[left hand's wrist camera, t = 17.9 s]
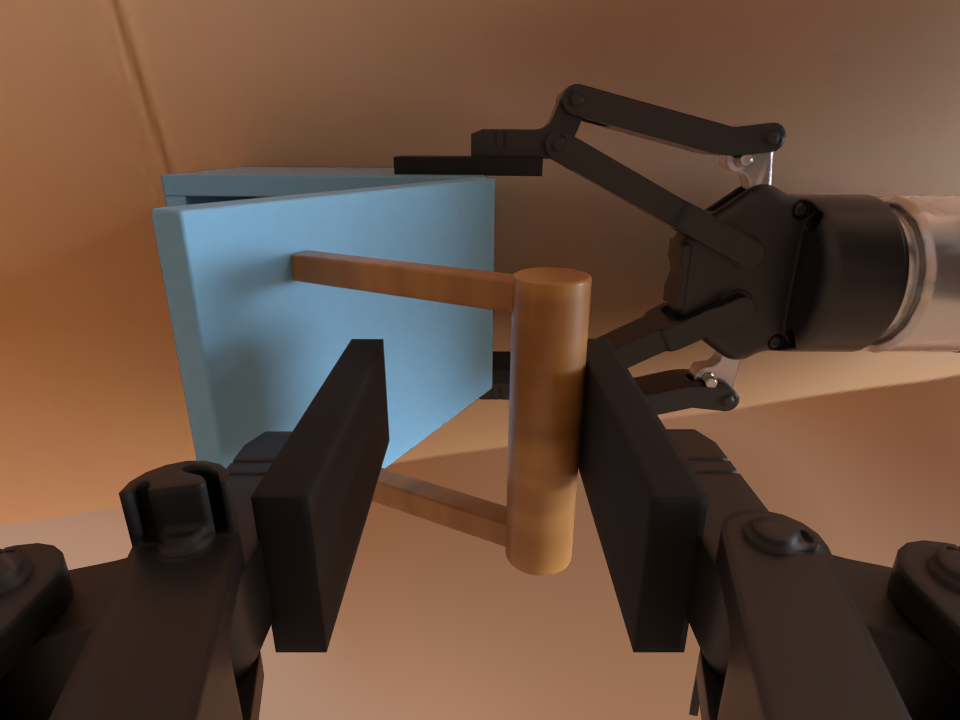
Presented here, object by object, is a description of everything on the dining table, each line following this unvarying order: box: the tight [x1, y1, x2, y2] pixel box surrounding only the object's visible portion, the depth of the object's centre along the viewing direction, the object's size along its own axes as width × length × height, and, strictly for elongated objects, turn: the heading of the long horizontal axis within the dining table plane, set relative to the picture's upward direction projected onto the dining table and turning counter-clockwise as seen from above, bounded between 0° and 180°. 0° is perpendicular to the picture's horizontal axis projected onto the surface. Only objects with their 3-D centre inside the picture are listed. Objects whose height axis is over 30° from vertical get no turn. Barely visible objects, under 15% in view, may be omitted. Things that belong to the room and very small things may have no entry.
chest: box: [161, 167, 485, 207], centre depth 30 cm, size 14×9×9 cm
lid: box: [151, 177, 592, 576], centre depth 18 cm, size 14×9×9 cm
